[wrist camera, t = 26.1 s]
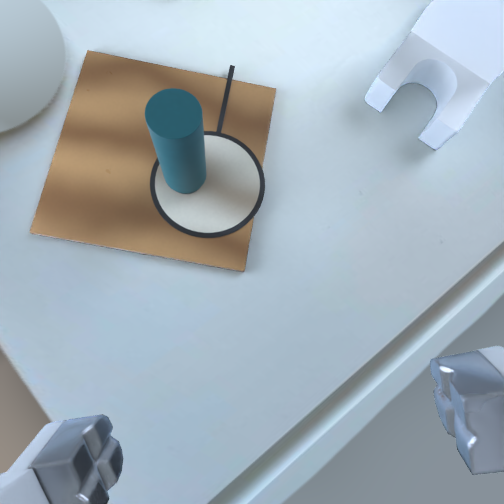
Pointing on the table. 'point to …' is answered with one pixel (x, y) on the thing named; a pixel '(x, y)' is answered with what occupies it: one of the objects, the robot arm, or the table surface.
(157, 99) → the teal cylinder
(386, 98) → the block with arch cutout
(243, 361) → the table surface
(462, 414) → the robot arm
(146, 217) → the brown flat square board
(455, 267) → the table surface
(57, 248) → the table surface
